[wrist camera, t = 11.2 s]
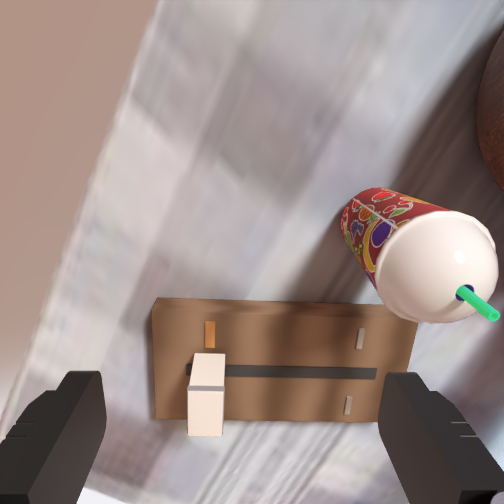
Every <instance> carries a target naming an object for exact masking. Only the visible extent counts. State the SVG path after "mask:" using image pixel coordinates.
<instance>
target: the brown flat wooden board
mask: <svg viewBox="0 0 504 504" xmlns="http://www.w3.org/2000/svg"><path fill="white" fill-rule="evenodd" d="M151 313H152V337H153V362H154V386H155V410H156V419H187V388H188V385H189V384H190V378H191V372H192V366H193V360H194V355H195V353H209V354H225V374H224V386H225V396H224V420H264V421H335V422H378V412H379V406H380V401H381V396H382V390H383V385H384V380H385V376H386V374H387V373H388V372H407V368H408V364H409V360H410V356H411V351H412V347H413V343H414V339H415V335H416V331H417V327H418V322H413V321H410V320H406V319H403V318H400V317H399V316H397V315H396V314H394V313H393V312H392V311H390V310H389V309H387V307H386V306H385V305H372V304H341V303H310V302H279V301H248V300H216V299H185V298H157V299H156V302H155V304H154V306H153V309H152V311H151Z"/></svg>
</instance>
